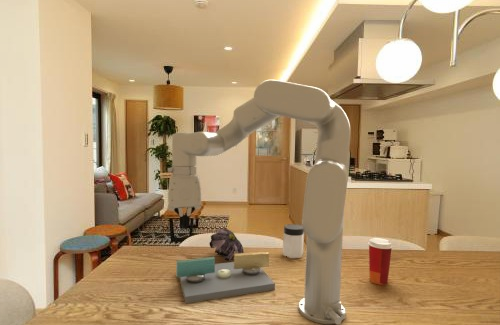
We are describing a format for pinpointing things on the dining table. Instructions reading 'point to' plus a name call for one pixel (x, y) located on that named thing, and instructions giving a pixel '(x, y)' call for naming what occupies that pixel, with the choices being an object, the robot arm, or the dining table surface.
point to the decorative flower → (226, 243)
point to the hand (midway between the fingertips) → (184, 227)
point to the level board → (225, 284)
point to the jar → (293, 241)
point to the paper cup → (379, 260)
